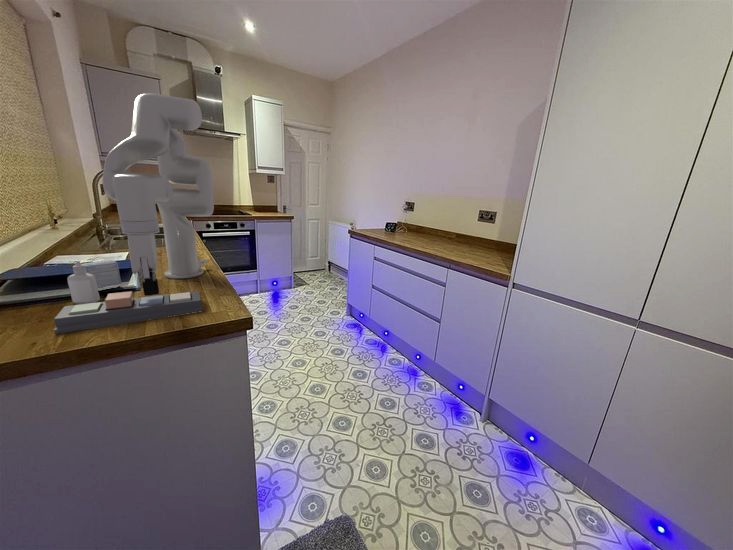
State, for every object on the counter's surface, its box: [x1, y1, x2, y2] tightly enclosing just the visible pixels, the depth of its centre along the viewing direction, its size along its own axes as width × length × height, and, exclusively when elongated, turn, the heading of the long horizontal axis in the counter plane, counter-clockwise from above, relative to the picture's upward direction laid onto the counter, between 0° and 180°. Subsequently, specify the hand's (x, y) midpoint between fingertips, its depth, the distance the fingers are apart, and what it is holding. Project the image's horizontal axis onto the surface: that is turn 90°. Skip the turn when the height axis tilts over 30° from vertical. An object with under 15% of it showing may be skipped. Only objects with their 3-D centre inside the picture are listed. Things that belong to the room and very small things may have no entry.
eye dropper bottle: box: [66, 260, 101, 305], centre depth 80 cm, size 4×6×12 cm
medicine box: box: [81, 259, 122, 288], centre depth 90 cm, size 8×4×9 cm, turn 149°
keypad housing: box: [53, 290, 203, 335], centre depth 76 cm, size 29×11×3 cm, turn 123°
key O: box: [104, 291, 134, 309], centre depth 74 cm, size 5×5×2 cm
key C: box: [70, 301, 102, 315], centre depth 71 cm, size 5×5×2 cm
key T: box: [140, 294, 164, 306], centre depth 78 cm, size 5×5×2 cm
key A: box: [170, 291, 191, 303], centre depth 81 cm, size 5×5×2 cm
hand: (152, 293), depth 78 cm, fingers closed
